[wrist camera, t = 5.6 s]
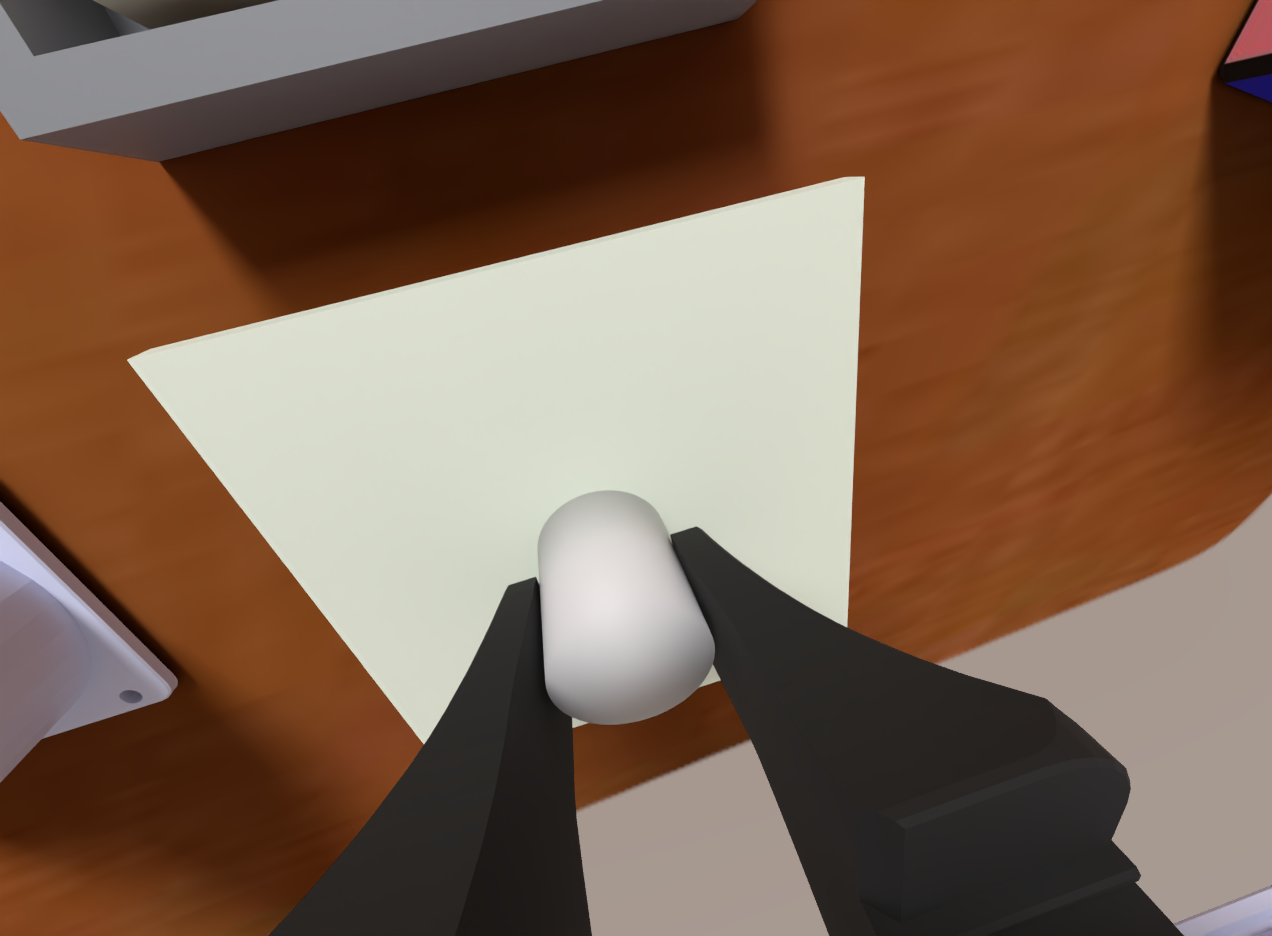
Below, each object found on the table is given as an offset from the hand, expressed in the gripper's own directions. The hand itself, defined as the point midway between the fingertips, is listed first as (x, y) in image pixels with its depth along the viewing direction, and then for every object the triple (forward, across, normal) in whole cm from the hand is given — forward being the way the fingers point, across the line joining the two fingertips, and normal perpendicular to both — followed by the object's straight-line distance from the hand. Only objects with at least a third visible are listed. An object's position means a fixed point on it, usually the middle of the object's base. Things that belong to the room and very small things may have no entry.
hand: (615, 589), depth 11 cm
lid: (+2, 0, -1) cm, 2 cm away
